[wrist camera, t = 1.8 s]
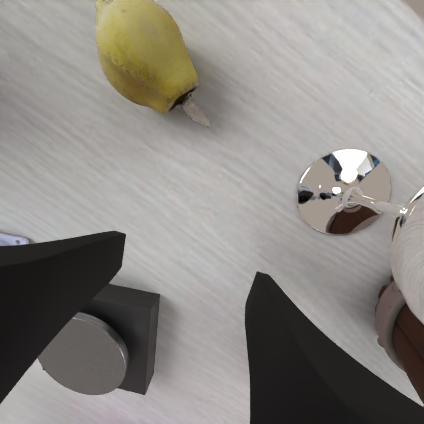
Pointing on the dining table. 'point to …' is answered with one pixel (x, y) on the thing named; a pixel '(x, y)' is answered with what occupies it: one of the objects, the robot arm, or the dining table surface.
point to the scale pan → (86, 356)
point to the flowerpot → (401, 334)
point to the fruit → (146, 56)
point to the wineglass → (366, 212)
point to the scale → (130, 329)
